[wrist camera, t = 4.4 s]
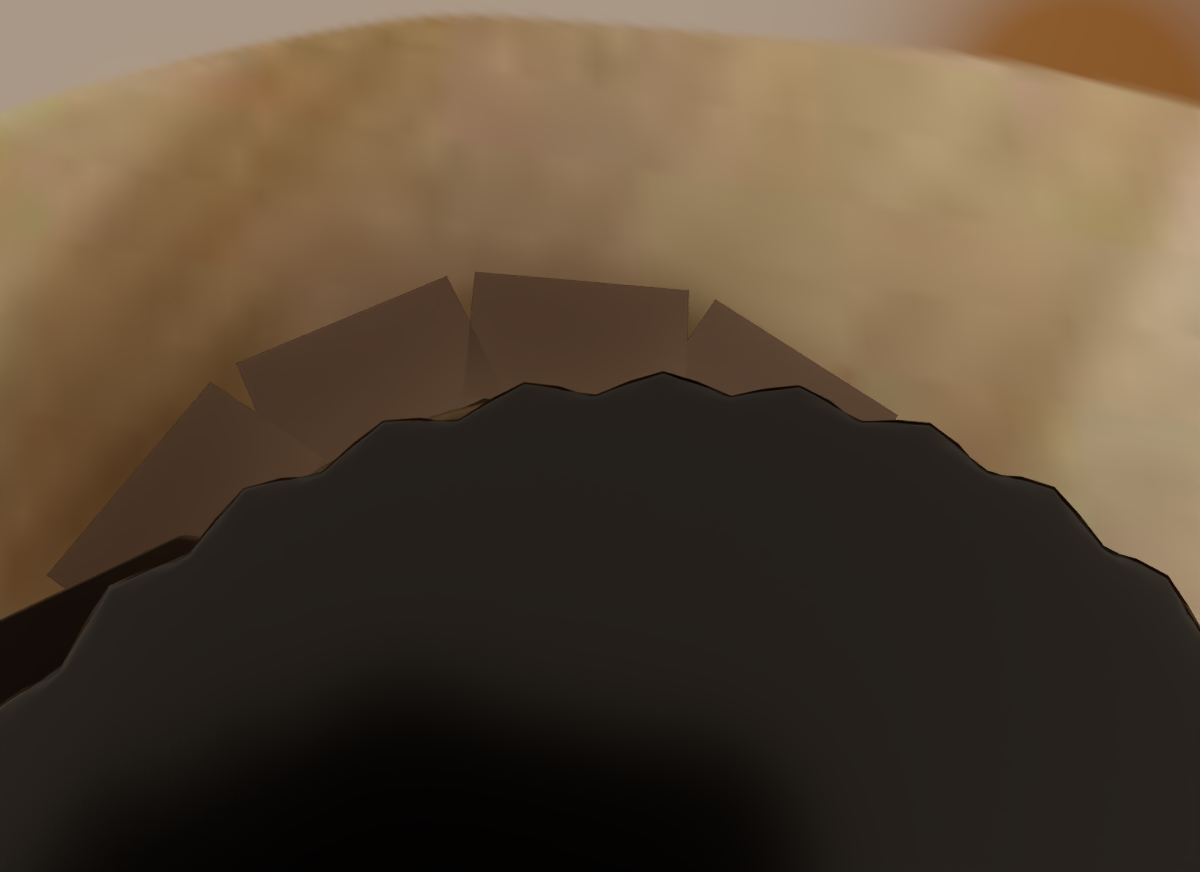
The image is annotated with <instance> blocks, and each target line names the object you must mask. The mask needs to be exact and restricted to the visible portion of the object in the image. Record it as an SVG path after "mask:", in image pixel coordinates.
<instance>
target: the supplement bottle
mask: <svg viewBox="0 0 1200 872" xmlns="http://www.w3.org/2000/svg"><path fill="white" fill-rule="evenodd" d="M0 872H1200V625H1199V623H1198V622H1197V620H1196V618H1195V616H1194V615H1193V613H1192V611H1191V609H1190V608H1189V606H1188V605H1187V603H1186V602H1185V600H1184V599H1183V597H1182V596H1181V594H1180V593H1179V591H1178V590H1177V588H1176V587H1175V585H1174V584H1173V582H1172V581H1171V579H1170V578H1169V576H1168V575H1166V574H1164V573H1162V572H1160V571H1159V570H1157V569H1155V568H1153V567H1151V566H1149V565H1147V564H1146V563H1144V562H1142V561H1140V560H1138V559H1136V558H1132V557H1128V556H1125V555H1121V554H1119V553H1117V552H1115V551H1113V550H1111V549H1109V548H1107V547H1105V546H1104V545H1103V544H1102V543H1101V542H1100V540H1099V539H1098V538H1097V536H1096V535H1095V534H1094V533H1093V531H1092V530H1091V529H1090V527H1089V526H1088V525H1087V523H1086V522H1085V521H1084V520H1083V518H1082V517H1081V516H1080V514H1079V513H1078V512H1077V511H1076V510H1075V509H1074V508H1073V507H1072V506H1071V505H1070V503H1069V502H1068V501H1067V500H1066V499H1065V498H1064V497H1063V496H1062V495H1061V494H1060V493H1059V492H1058V490H1057V489H1056V488H1055V487H1053V486H1050V485H1047V484H1044V483H1041V482H1037V481H1034V480H1031V479H1028V478H1024V477H1021V476H1006V475H1001V474H997V473H994V472H991V471H987V470H986V469H985V468H983V467H982V466H981V465H980V464H978V463H977V462H976V461H974V460H973V459H972V458H970V457H969V455H968V454H967V453H966V452H965V451H964V450H963V449H962V447H961V446H960V445H959V444H958V443H956V442H955V441H954V440H952V439H951V438H950V437H948V436H947V435H946V434H944V433H943V432H942V431H940V430H939V429H938V428H936V427H935V426H934V425H932V424H931V423H929V422H917V421H905V420H880V421H861V420H859V419H857V418H855V417H853V416H851V415H849V414H847V413H846V412H844V411H843V410H841V409H840V408H839V407H838V406H836V405H835V404H834V403H833V402H832V401H830V400H828V399H826V398H824V397H822V396H820V395H818V394H816V393H814V392H812V391H810V390H808V389H806V388H804V387H802V386H800V385H789V386H780V387H771V388H764V389H760V390H755V391H751V392H746V393H742V394H737V395H732V396H731V395H728V394H726V393H724V392H721V391H719V390H717V389H714V388H712V387H709V386H707V385H705V384H702V383H700V382H698V381H695V380H691V379H688V378H685V377H681V376H678V375H675V374H672V373H669V372H665V371H660V372H656V373H653V374H650V375H646V376H643V377H640V378H636V379H633V380H630V381H628V382H625V383H623V384H620V385H618V386H616V387H613V388H611V389H608V390H606V391H603V392H601V393H599V394H588V393H579V392H575V391H572V390H569V389H566V388H564V387H561V386H555V385H547V384H539V383H530V382H522V383H520V384H518V385H516V386H514V387H512V388H510V389H509V390H507V391H505V392H503V393H501V394H499V395H497V396H495V397H493V398H491V399H490V400H488V401H487V402H485V403H482V404H477V405H473V406H468V407H464V408H460V409H455V410H451V411H447V412H444V413H441V414H438V415H435V416H432V417H429V418H407V419H391V420H383V421H381V422H380V423H379V424H377V425H376V426H375V427H374V428H372V429H371V430H370V431H368V432H367V433H366V434H364V435H363V436H362V437H361V438H359V439H358V440H357V441H355V442H354V443H353V444H352V445H350V446H349V447H348V448H347V449H346V450H345V451H344V452H343V453H342V454H341V455H339V456H338V457H337V458H336V459H335V460H333V461H331V462H329V463H328V464H326V465H324V466H322V467H321V468H319V469H318V470H316V471H315V472H313V473H312V474H310V475H306V476H302V477H284V478H279V479H275V480H271V481H267V482H263V483H259V484H255V485H251V486H247V487H244V488H243V489H242V490H241V491H240V492H239V493H238V494H237V496H236V497H235V498H234V499H233V500H232V501H231V502H230V503H229V504H228V505H227V506H226V507H225V508H224V509H223V511H222V512H221V513H220V514H219V515H218V516H217V517H216V518H215V519H214V521H213V522H212V523H211V525H210V526H209V527H208V528H207V530H206V531H205V532H204V533H203V535H202V536H201V537H200V539H199V540H198V541H197V542H196V544H195V545H194V546H193V548H192V549H191V550H190V551H189V553H187V554H184V555H181V556H179V557H176V558H173V559H170V560H168V561H165V562H162V563H160V564H157V565H154V566H152V567H149V568H146V569H144V570H142V571H140V572H138V573H136V574H134V575H132V576H129V577H127V578H125V579H123V580H121V581H119V582H117V583H114V584H112V585H110V586H109V587H108V588H107V590H106V591H105V593H104V594H103V596H102V597H101V599H100V600H99V602H98V603H97V605H96V606H95V608H94V609H93V611H92V612H91V614H90V616H89V617H88V619H87V620H86V622H85V623H84V625H83V627H82V629H81V630H80V632H79V634H78V636H77V638H76V640H75V642H74V643H73V645H72V647H71V649H70V651H69V653H68V655H67V656H66V658H65V660H64V662H63V664H62V666H60V667H59V668H57V669H56V670H55V671H53V672H52V673H51V674H49V675H48V676H46V677H45V678H44V679H42V680H41V681H40V682H37V683H35V684H33V685H31V686H28V687H26V688H24V689H22V690H20V691H19V692H17V693H16V694H15V695H13V696H12V697H10V698H9V699H8V700H6V701H5V702H3V703H2V704H1V705H0Z"/></svg>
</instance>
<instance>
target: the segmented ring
mask: <svg viewBox="0 0 1200 872" xmlns="http://www.w3.org/2000/svg"><path fill="white" fill-rule="evenodd" d="M688 298H689V290H677V289H666V288H654V287H643V286H631V285H620V284H608V283H597V282H586V281H574V280H563V279H551V278H540V277H528V276H517V275H505V274H494V273H483V272H475V278H474V288H473V298H472V308H471V318H470V322H469V320H468V318H467V316H466V314H465V312H464V310H463V308H462V306H461V304H460V302H459V300H458V298H457V296H456V294H455V292H454V290H453V288H452V286H451V284H450V282H449V280H448V278H447V276H446V277H444V278H441V279H439V280H436V281H434V282H431V283H429V284H427V285H424V286H422V287H419V288H417V289H415V290H412V291H410V292H407V293H405V294H402V295H400V296H398V297H395V298H393V299H390V300H388V301H386V302H383V303H381V304H378V305H376V306H374V307H371V308H369V309H366V310H364V311H361V312H359V313H357V314H354V315H352V316H349V317H347V318H345V319H342V320H340V321H337V322H335V323H332V324H330V325H328V326H325V327H323V328H320V329H318V330H316V331H313V332H311V333H308V334H306V335H304V336H301V337H299V338H296V339H294V340H291V341H289V342H287V343H284V344H282V345H279V346H277V347H275V348H272V349H270V350H267V351H265V352H262V353H260V354H258V355H255V356H253V357H250V358H248V359H246V360H243V361H241V362H238V363H236V365H237V367H238V369H239V371H240V374H241V376H242V378H243V381H244V383H245V385H246V388H247V390H248V392H249V395H250V397H251V399H252V402H253V404H254V406H255V408H256V411H257V413H258V414H257V413H256V412H254V411H253V410H251V409H250V408H248V407H247V406H245V405H244V404H242V403H241V402H239V401H238V400H236V399H235V398H233V397H232V396H230V395H229V394H228V393H226V392H225V391H223V390H222V389H220V388H219V387H217V386H216V385H214V384H213V383H211V382H210V383H209V384H208V386H207V387H206V388H205V389H204V390H203V391H202V393H201V394H200V395H199V396H198V397H197V399H196V400H195V401H194V402H193V403H192V404H191V406H190V407H189V408H188V409H187V410H186V411H185V413H184V414H183V415H182V416H181V417H180V419H179V420H178V421H177V422H176V423H175V424H174V426H173V427H172V428H171V429H170V430H169V432H168V433H167V434H166V435H165V436H164V437H163V439H162V440H161V441H160V442H159V443H158V445H157V446H156V447H155V448H154V449H153V450H152V452H151V453H150V454H149V455H148V456H147V458H146V459H145V460H144V461H143V462H142V463H141V465H140V466H139V467H138V468H137V469H136V471H135V472H134V473H133V474H132V475H131V476H130V478H129V479H128V480H127V481H126V482H125V483H124V485H123V486H122V487H121V488H120V489H119V491H118V492H117V493H116V494H115V495H114V496H113V498H112V499H111V500H110V501H109V502H108V504H107V505H106V506H105V507H104V508H103V509H102V511H101V512H100V513H99V514H98V515H97V517H96V518H95V519H94V520H93V521H92V522H91V524H90V525H89V526H88V527H87V528H86V530H85V531H84V532H83V533H82V534H81V535H80V537H79V538H78V539H77V540H76V541H75V542H74V544H73V545H72V546H71V547H70V548H69V550H68V551H67V552H66V553H65V554H64V555H63V557H62V558H61V559H60V560H59V561H58V563H57V564H56V565H55V566H54V567H53V568H52V570H51V571H50V572H49V573H48V574H47V576H48V577H50V578H51V579H53V580H54V581H55V582H57V583H58V584H60V585H61V586H62V587H64V588H65V589H66V588H68V587H70V586H72V585H74V584H77V583H79V582H81V581H83V580H85V579H87V578H89V577H91V576H93V575H96V574H98V573H100V572H102V571H104V570H106V569H108V568H110V567H112V566H115V565H117V564H119V563H121V562H123V561H125V560H127V559H129V558H132V557H134V556H136V555H138V554H140V553H142V552H144V551H146V550H148V549H151V548H153V547H155V546H157V545H159V544H161V543H163V542H165V541H167V540H170V539H172V538H174V537H177V536H180V535H192V536H197V537H201V536H202V535H203V533H204V532H205V531H206V530H207V528H208V527H209V526H210V525H211V523H212V522H213V521H214V519H215V518H216V517H217V516H218V515H219V514H220V513H221V512H222V511H223V509H224V508H225V507H226V506H227V505H228V504H229V503H230V502H231V501H232V500H233V499H234V498H235V497H236V496H237V494H238V493H239V492H240V491H241V490H242V489H243V488H244V487H247V486H251V485H255V484H259V483H263V482H267V481H271V480H275V479H279V478H284V477H302V476H306V475H310V474H312V473H313V472H315V471H316V470H318V469H319V468H321V467H322V466H324V465H326V464H328V463H329V462H331V461H333V460H335V459H336V458H337V457H338V456H339V455H341V454H342V453H343V452H344V451H345V450H346V449H347V448H348V447H349V446H350V445H352V444H353V443H354V442H355V441H357V440H358V439H359V438H361V437H362V436H363V435H364V434H366V433H367V432H368V431H370V430H371V429H372V428H374V427H375V426H376V425H377V424H379V423H380V422H381V421H383V420H391V419H407V418H429V417H432V416H435V415H438V414H441V413H444V412H447V411H451V410H455V409H460V408H464V407H468V406H473V405H477V404H482V403H485V402H487V401H488V400H490V399H491V398H493V397H495V396H497V395H499V394H501V393H503V392H505V391H507V390H509V389H510V388H512V387H514V386H516V385H518V384H520V383H522V382H530V383H539V384H547V385H555V386H561V387H564V388H566V389H569V390H572V391H575V392H579V393H588V394H599V393H601V392H603V391H606V390H608V389H611V388H613V387H616V386H618V385H620V384H623V383H625V382H628V381H630V380H633V379H636V378H640V377H643V376H646V375H650V374H653V373H656V372H660V371H665V372H669V373H672V374H675V375H678V376H681V377H685V378H688V379H691V380H695V381H698V382H700V383H702V384H705V385H707V386H709V387H712V388H714V389H717V390H719V391H721V392H724V393H726V394H728V395H731V396H732V395H737V394H742V393H746V392H751V391H755V390H760V389H764V388H771V387H780V386H789V385H800V386H802V387H804V388H806V389H808V390H810V391H812V392H814V393H816V394H818V395H820V396H822V397H824V398H826V399H828V400H830V401H832V402H833V403H834V404H835V405H836V406H838V407H839V408H840V409H841V410H843V411H844V412H846V413H847V414H849V415H851V416H853V417H855V418H857V419H859V420H861V421H880V420H895V419H896V418H897V416H898V415H896V414H895V413H893V412H892V411H890V410H889V409H887V408H885V407H884V406H882V405H881V404H879V403H878V402H876V401H874V400H873V399H871V398H870V397H868V396H867V395H865V394H863V393H862V392H860V391H859V390H857V389H855V388H854V387H852V386H851V385H849V384H848V383H846V382H844V381H843V380H841V379H840V378H838V377H837V376H835V375H833V374H832V373H830V372H829V371H827V370H826V369H824V368H822V367H821V366H819V365H818V364H816V363H815V362H813V361H811V360H810V359H808V358H807V357H805V356H803V355H802V354H800V353H799V352H797V351H796V350H794V349H792V348H791V347H789V346H788V345H786V344H785V343H783V342H781V341H780V340H778V339H777V338H775V337H774V336H772V335H770V334H769V333H767V332H766V331H764V330H763V329H761V328H759V327H758V326H756V325H755V324H753V323H751V322H750V321H748V320H747V319H745V318H744V317H742V316H740V315H739V314H737V313H736V312H734V311H733V310H731V309H729V308H728V307H726V306H725V305H723V304H722V303H720V302H718V301H717V300H715V301H714V302H713V304H712V305H711V307H710V308H709V310H708V311H707V313H706V314H705V316H704V317H703V319H702V320H701V322H700V323H699V324H698V326H697V327H696V329H695V330H694V332H693V333H692V335H691V336H690V338H689V339H688V341H687V332H688Z"/></svg>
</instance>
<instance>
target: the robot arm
mask: <svg viewBox="0 0 1200 872" xmlns="http://www.w3.org/2000/svg"><path fill="white" fill-rule="evenodd" d="M199 539H200V537H197V536H192V535H180V536H177V537H174V538H172V539H170V540H167V541H165V542H163V543H161V544H159V545H157V546H155V547H153V548H151V549H148V550H146V551H144V552H142V553H140V554H138V555H136V556H134V557H132V558H129V559H127V560H125V561H123V562H121V563H119V564H117V565H115V566H112V567H110V568H108V569H106V570H104V571H102V572H100V573H98V574H96V575H93V576H91V577H89V578H87V579H85V580H83V581H81V582H79V583H77V584H74V585H72V586H70V587H68V588H66V589H64V590H62V591H60V592H57V593H55V594H53V595H51V596H49V597H47V598H45V599H43V600H41V601H38V602H36V603H34V604H32V605H30V606H28V607H26V608H24V609H22V610H19V611H17V612H15V613H13V614H11V615H9V616H7V617H5V618H3V619H0V705H1V704H2V703H3V702H5V701H6V700H8V699H9V698H10V697H12V696H13V695H15V694H16V693H17V692H19V691H20V690H22V689H24V688H26V687H28V686H31V685H33V684H35V683H37V682H40V681H41V680H42V679H44V678H45V677H46V676H48V675H49V674H51V673H52V672H53V671H55V670H56V669H57V668H59V667H60V666H62V664H63V662H64V660H65V658H66V656H67V655H68V653H69V651H70V649H71V647H72V645H73V643H74V642H75V640H76V638H77V636H78V634H79V632H80V630H81V629H82V627H83V625H84V623H85V622H86V620H87V619H88V617H89V616H90V614H91V612H92V611H93V609H94V608H95V606H96V605H97V603H98V602H99V600H100V599H101V597H102V596H103V594H104V593H105V591H106V590H107V588H108V587H109V586H110V585H112V584H114V583H117V582H119V581H121V580H123V579H125V578H127V577H129V576H132V575H134V574H136V573H138V572H140V571H142V570H144V569H146V568H149V567H152V566H154V565H157V564H160V563H162V562H165V561H168V560H170V559H173V558H176V557H179V556H181V555H184V554H187V553H189V551H190V550H191V549H192V548H193V546H194V545H195V544H196V542H197V541H198V540H199Z"/></svg>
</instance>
